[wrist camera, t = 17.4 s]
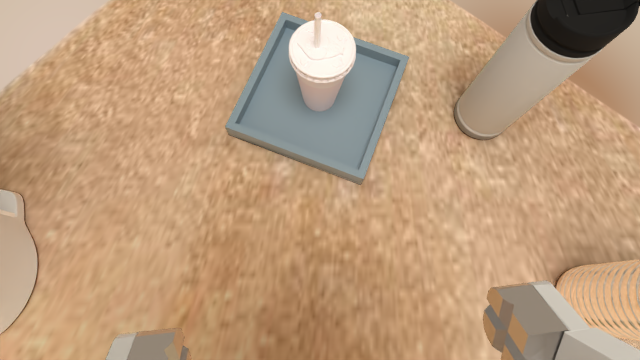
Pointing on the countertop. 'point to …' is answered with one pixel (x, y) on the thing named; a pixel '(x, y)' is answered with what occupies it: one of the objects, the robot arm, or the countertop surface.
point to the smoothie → (321, 60)
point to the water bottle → (605, 296)
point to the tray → (313, 126)
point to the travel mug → (539, 60)
